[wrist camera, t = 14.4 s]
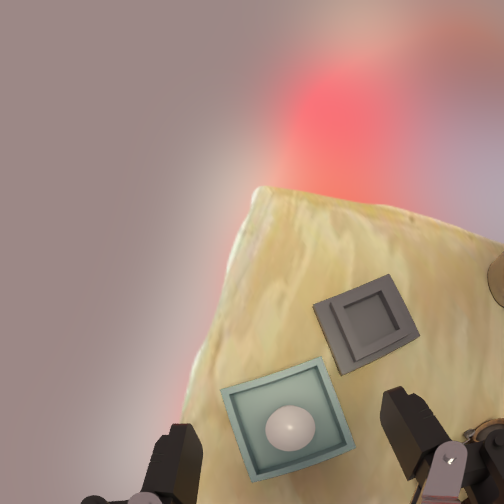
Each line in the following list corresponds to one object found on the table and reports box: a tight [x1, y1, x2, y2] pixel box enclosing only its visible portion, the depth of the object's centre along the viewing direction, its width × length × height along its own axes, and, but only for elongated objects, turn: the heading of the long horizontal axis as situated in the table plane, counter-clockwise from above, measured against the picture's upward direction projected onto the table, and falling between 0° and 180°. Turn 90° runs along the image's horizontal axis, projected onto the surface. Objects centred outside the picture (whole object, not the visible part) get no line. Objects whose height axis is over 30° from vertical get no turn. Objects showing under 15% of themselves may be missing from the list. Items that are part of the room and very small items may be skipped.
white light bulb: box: [265, 405, 315, 451], centre depth 24 cm, size 4×4×10 cm
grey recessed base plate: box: [313, 274, 420, 376], centre depth 33 cm, size 12×10×2 cm
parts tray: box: [220, 356, 356, 483], centre depth 28 cm, size 12×12×4 cm
